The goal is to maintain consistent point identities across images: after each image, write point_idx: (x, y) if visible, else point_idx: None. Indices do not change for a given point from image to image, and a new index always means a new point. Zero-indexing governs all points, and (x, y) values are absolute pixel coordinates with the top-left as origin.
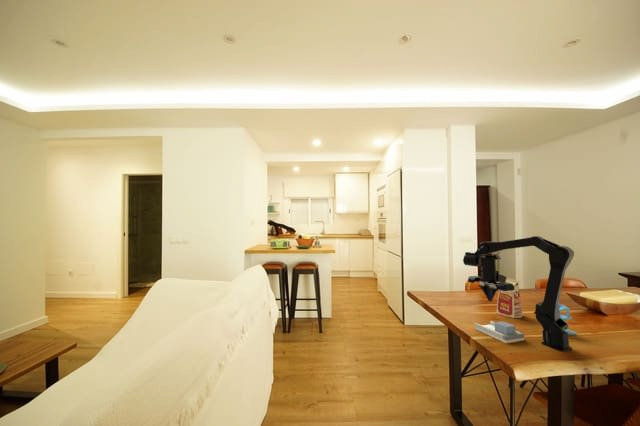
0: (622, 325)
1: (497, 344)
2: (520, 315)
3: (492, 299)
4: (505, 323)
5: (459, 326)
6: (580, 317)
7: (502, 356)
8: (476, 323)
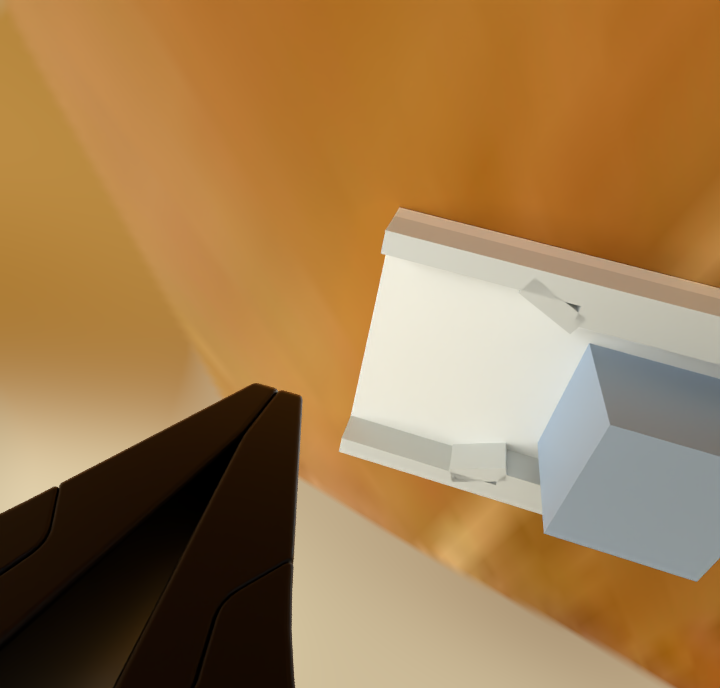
0: None
1: (612, 561)
2: None
3: (299, 433)
4: (657, 478)
5: None
6: None
7: (690, 677)
8: (350, 444)
